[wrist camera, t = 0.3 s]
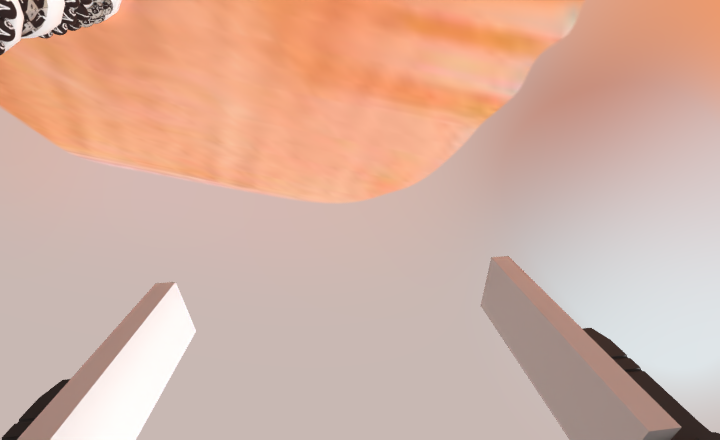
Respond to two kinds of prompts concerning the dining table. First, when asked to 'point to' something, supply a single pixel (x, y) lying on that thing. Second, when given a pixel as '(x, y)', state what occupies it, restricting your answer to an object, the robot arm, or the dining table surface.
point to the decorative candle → (49, 17)
